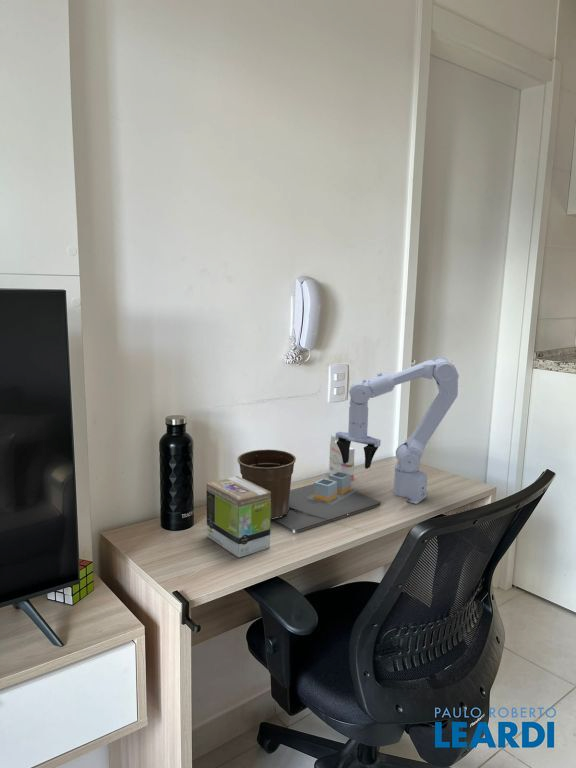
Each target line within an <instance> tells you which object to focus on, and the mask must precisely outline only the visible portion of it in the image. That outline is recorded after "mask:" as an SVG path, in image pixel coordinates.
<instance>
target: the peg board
mask: <svg viewBox="0 0 576 768" xmlns="http://www.w3.org/2000/svg"><path fill="white" fill-rule="evenodd" d="M356 492H358V490H357V489H353V488H351V490H349V491H348V492H346V493H344V494H338V493H337V498H335V499H333V500H332V501H330V502H324V501H321V500H317V499H314V493H313V494H311V495H309V496H307V497H306V499H308V500H311V501H315V502H319V503H322V504H326V505H329V506H333V505H335V504H337V503H338V502H341V501H343V500H344V499H346V498H347V497H349V496H352V495H353V494H354V493H356Z"/></svg>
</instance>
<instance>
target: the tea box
mask: <svg viewBox="0 0 576 768" xmlns="http://www.w3.org/2000/svg"><path fill="white" fill-rule="evenodd" d="M270 516H271V492H270V491H268V490H266V489H264V488H262V487H260V486H257V485H255V484H253V483H251V482H249V481H247V480H245V479H243V478H242V477H240V476H238V475H235V476H232V477H227V478H224V479H223V478H222V479H219V480H214V481H209V482H207V483H206V537H207V538H209V539H210V540H212V541H213V542H215V543H217V545H219V546H221V547H222V548H223V549H225V550H227V551H228V552H229V553H231V554H232V555H234V556H235V557H237V558H242V557H245V556H248V555H252V554H255V553H258V552H261V551H263V550H267V549H269V548H270V547H271V520H270Z"/></svg>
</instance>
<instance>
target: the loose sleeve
mask: <svg viewBox="0 0 576 768" xmlns="http://www.w3.org/2000/svg"><path fill="white" fill-rule="evenodd" d="M313 494H314V499H317V500H321V501H324V502H330V501H332V500H333V499H335V498H337V481H333V480H329V478H325V477H322V478H320V479H318V480H316V481H314V482H313Z"/></svg>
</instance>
